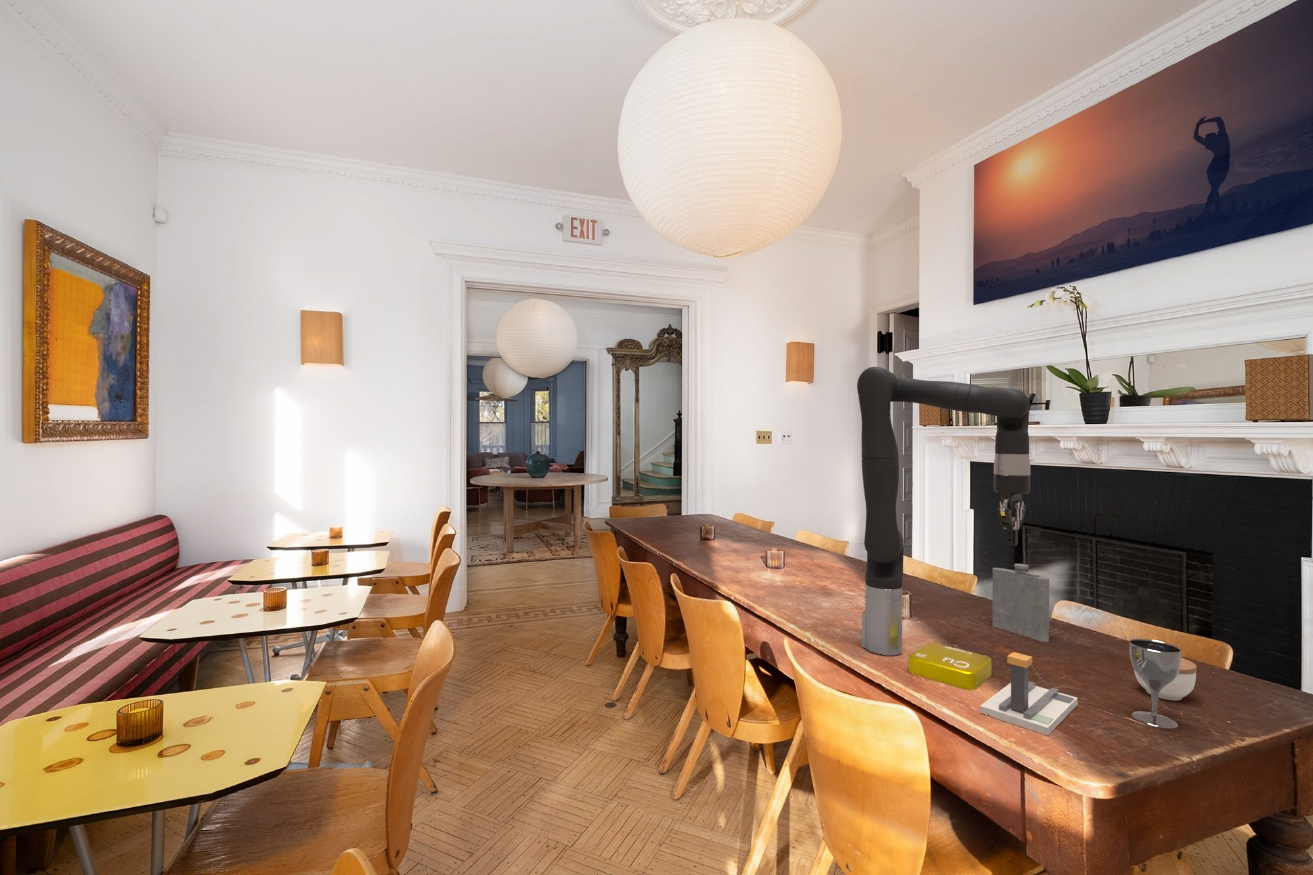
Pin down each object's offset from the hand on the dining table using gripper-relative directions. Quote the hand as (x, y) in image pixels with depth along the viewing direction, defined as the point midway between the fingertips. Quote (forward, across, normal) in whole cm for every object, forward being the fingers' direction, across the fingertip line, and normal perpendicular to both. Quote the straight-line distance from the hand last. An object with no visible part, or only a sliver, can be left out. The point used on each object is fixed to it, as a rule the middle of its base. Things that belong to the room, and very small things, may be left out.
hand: (1011, 545), depth 140 cm
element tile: (+32, +10, -10) cm, 35 cm away
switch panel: (+31, +17, +9) cm, 36 cm away
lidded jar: (+31, -14, +26) cm, 43 cm away
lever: (+29, +23, +9) cm, 38 cm away
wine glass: (+31, +3, +27) cm, 41 cm away
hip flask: (+31, -36, -9) cm, 48 cm away
